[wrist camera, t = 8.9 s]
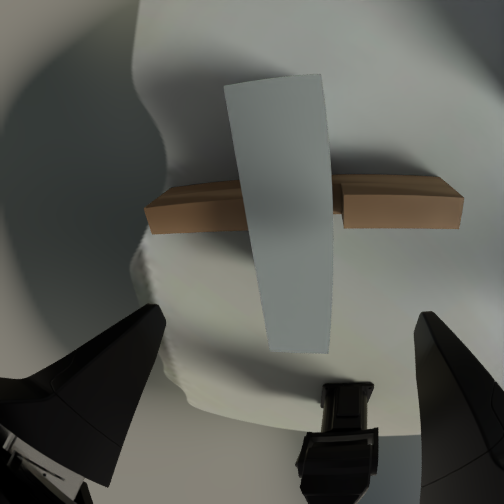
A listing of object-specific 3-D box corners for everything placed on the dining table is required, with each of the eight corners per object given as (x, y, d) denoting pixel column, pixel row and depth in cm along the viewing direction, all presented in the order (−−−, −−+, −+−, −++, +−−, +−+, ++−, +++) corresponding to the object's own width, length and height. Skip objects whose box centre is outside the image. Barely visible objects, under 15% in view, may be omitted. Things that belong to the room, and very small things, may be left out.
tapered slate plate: (330, 272, 21) (328, 353, 15) (287, 272, 22) (269, 351, 15) (319, 85, 14) (320, 74, 7) (264, 90, 15) (223, 86, 8)
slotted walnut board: (436, 203, 16) (459, 228, 13) (177, 210, 21) (152, 234, 18) (439, 177, 15) (464, 197, 12) (171, 187, 20) (143, 208, 17)
